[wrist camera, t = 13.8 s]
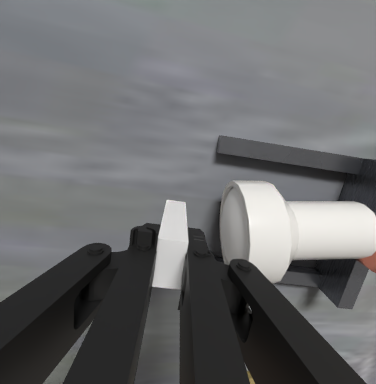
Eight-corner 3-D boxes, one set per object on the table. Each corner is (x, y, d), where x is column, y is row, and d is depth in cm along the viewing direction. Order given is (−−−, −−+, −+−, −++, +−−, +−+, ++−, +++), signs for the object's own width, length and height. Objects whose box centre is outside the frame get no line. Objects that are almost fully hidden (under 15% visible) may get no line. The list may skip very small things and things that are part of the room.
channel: (195, 266, 22) (200, 307, 17) (219, 135, 19) (235, 133, 13) (333, 282, 23) (380, 325, 18) (378, 161, 20) (452, 169, 15)
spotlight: (218, 167, 18) (249, 213, 11) (337, 168, 19) (438, 212, 12) (211, 239, 22) (231, 311, 14) (312, 238, 23) (379, 305, 15)
